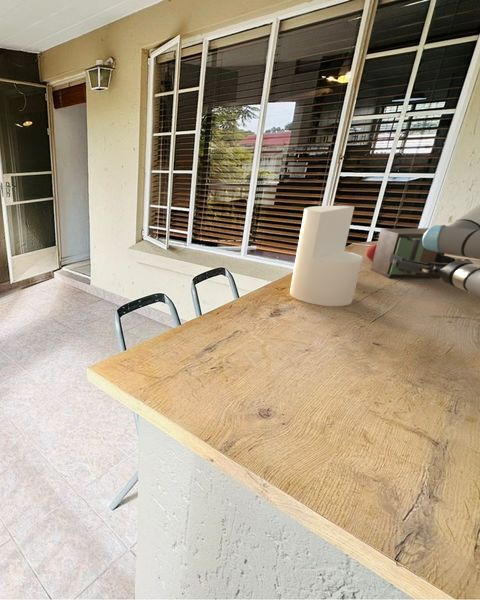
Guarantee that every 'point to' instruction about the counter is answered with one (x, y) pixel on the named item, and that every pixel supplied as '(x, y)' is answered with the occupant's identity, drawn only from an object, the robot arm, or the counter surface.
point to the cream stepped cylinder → (325, 258)
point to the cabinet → (388, 247)
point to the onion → (371, 252)
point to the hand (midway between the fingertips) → (413, 257)
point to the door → (408, 253)
